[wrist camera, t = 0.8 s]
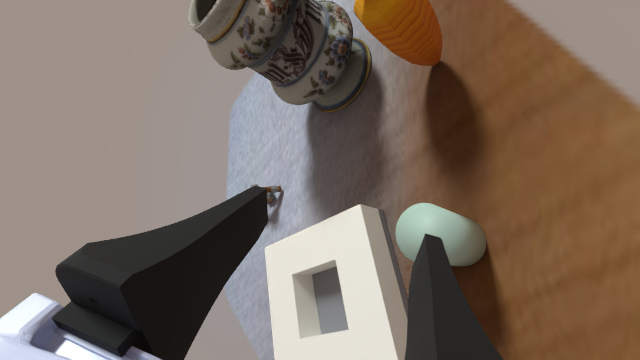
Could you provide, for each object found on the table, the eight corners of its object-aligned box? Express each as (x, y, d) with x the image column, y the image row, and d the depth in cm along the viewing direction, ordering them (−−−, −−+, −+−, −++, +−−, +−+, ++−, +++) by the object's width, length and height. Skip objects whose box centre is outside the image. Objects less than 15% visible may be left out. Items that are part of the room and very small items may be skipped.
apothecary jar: (326, 32, 43) (208, -69, 31) (395, 30, 35) (271, -111, 22) (294, 112, 44) (166, 47, 31) (354, 129, 36) (212, 49, 23)
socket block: (427, 371, 25) (403, 384, 22) (306, 379, 32) (277, 389, 30) (383, 210, 31) (359, 203, 28) (290, 249, 39) (264, 247, 36)
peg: (495, 258, 23) (463, 254, 18) (445, 271, 25) (405, 270, 21) (474, 210, 25) (441, 194, 20) (429, 225, 27) (389, 214, 22)
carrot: (442, 92, 29) (346, -12, 19) (404, 78, 33) (304, -17, 22) (473, 43, 28) (390, -96, 18) (431, 34, 31) (339, -88, 21)
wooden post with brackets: (284, 189, 41) (250, 191, 39) (270, 219, 46) (240, 222, 44) (281, 178, 42) (248, 179, 40) (267, 209, 47) (238, 212, 45)
